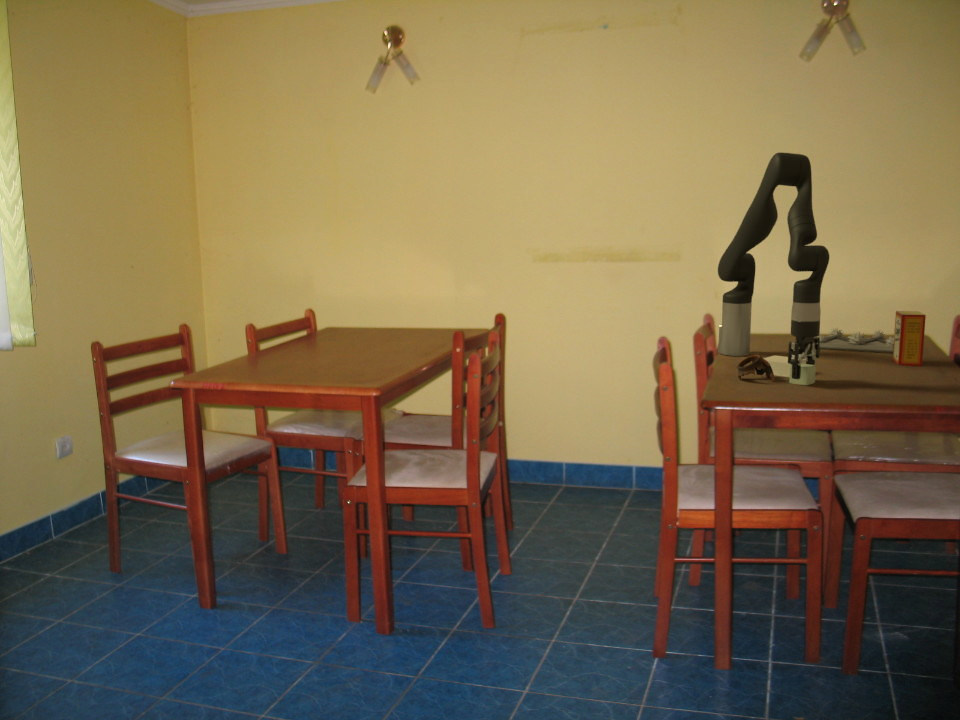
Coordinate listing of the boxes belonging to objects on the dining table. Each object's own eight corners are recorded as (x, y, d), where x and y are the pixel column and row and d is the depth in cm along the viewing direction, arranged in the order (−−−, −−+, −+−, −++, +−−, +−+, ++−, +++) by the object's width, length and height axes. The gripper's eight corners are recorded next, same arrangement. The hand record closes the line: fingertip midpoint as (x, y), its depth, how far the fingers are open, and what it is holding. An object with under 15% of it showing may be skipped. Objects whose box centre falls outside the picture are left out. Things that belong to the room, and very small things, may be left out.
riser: (757, 373, 264) (758, 359, 263) (774, 368, 271) (774, 355, 270) (790, 377, 257) (790, 363, 256) (805, 372, 264) (806, 359, 263)
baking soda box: (892, 360, 282) (896, 309, 279) (915, 360, 280) (918, 310, 278) (898, 365, 273) (902, 313, 270) (921, 366, 271) (925, 313, 269)
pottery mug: (775, 386, 247) (761, 361, 246) (744, 397, 252) (730, 373, 251) (780, 368, 257) (766, 344, 256) (749, 379, 262) (736, 356, 261)
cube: (789, 383, 249) (790, 365, 248) (797, 380, 252) (798, 363, 252) (806, 385, 245) (807, 367, 245) (814, 382, 249) (815, 365, 248)
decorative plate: (907, 346, 311) (909, 326, 310) (905, 355, 293) (906, 334, 291) (816, 341, 325) (817, 322, 324) (808, 350, 306) (809, 329, 305)
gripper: (804, 315, 253) (801, 371, 256) (780, 320, 243) (778, 378, 246) (830, 317, 248) (827, 374, 251) (807, 322, 238) (804, 382, 241)
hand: (802, 376), depth 248 cm, fingers open, 8 cm apart
